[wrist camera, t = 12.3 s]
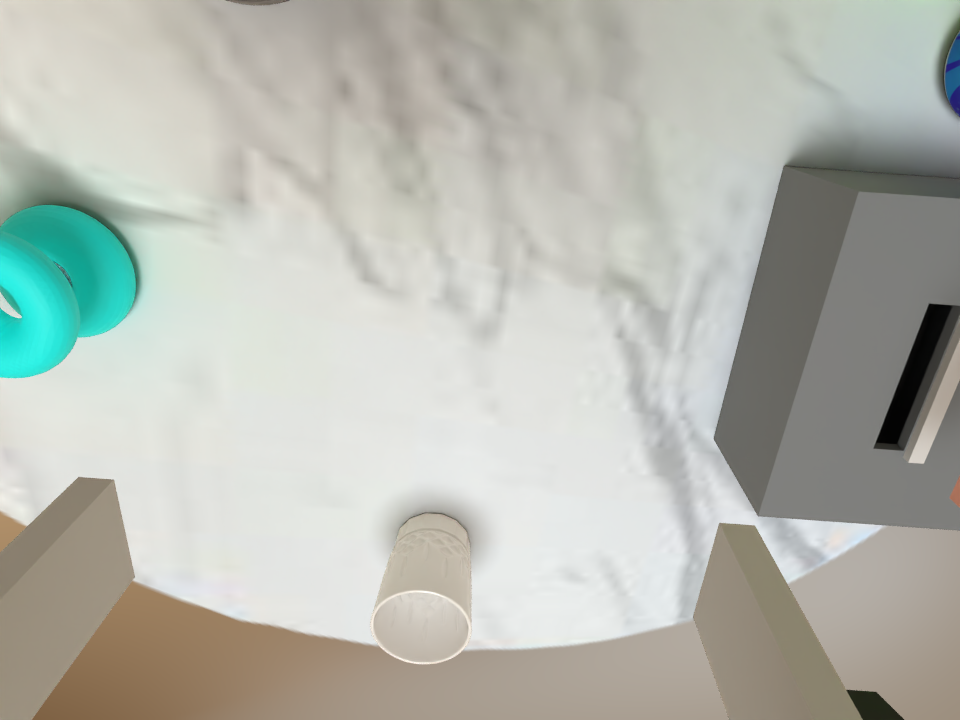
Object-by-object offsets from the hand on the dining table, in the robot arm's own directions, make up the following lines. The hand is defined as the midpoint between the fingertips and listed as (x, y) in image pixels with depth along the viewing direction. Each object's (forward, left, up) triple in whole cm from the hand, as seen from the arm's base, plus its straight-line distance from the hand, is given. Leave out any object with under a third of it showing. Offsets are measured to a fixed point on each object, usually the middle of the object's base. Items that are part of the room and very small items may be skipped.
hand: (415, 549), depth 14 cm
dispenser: (+6, +28, -35) cm, 45 cm away
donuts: (+6, -30, -35) cm, 46 cm away
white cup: (+30, -2, -35) cm, 46 cm away
